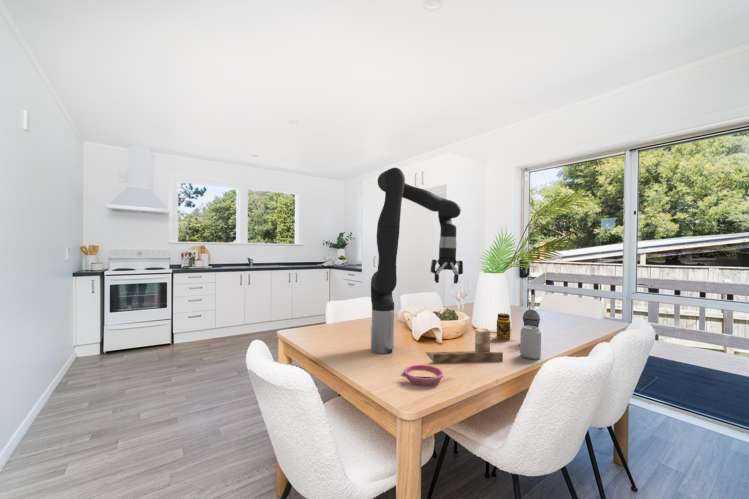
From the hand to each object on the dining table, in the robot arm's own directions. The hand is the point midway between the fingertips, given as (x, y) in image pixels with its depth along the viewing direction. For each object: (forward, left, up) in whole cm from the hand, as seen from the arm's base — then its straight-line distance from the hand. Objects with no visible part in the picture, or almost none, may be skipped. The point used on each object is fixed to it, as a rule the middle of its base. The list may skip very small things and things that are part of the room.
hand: (446, 283), depth 147 cm
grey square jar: (+28, -20, -28) cm, 44 cm away
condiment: (+30, +6, -28) cm, 41 cm away
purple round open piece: (-21, -39, -28) cm, 52 cm away
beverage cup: (+39, -3, -28) cm, 48 cm away
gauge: (+7, -23, -26) cm, 35 cm away
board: (-1, -22, -27) cm, 35 cm away
